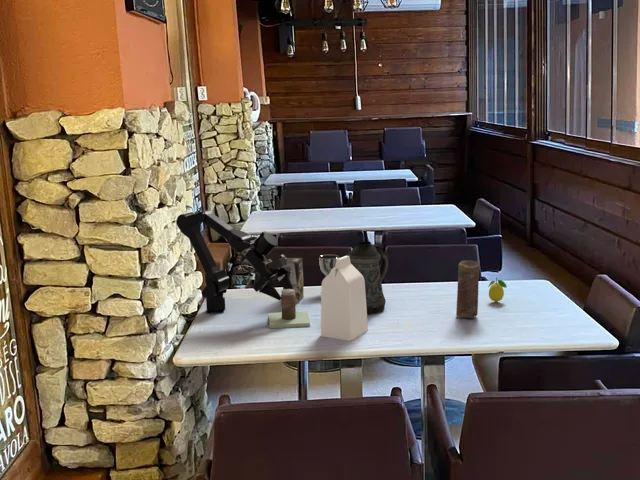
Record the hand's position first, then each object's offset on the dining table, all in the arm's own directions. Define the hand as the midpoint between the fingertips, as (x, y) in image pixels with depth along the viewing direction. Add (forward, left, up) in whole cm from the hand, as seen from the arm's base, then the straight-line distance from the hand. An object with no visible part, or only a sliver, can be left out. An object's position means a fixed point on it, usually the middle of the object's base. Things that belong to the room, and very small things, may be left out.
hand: (287, 296), depth 253 cm
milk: (+18, -16, -9) cm, 26 cm away
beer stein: (+29, +12, -9) cm, 33 cm away
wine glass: (+18, +35, -9) cm, 40 cm away
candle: (+63, -6, -9) cm, 64 cm away
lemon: (+79, +10, -9) cm, 80 cm away
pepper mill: (0, 0, -8) cm, 8 cm away
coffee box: (+3, +27, -9) cm, 29 cm away
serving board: (0, 0, -9) cm, 9 cm away
